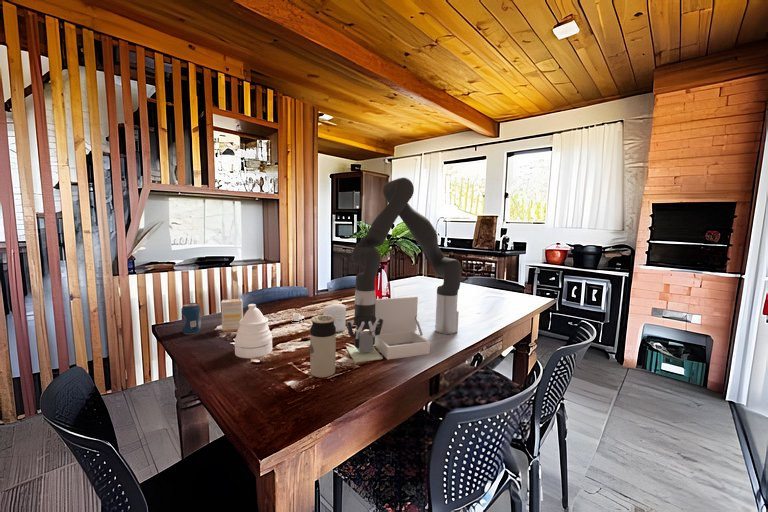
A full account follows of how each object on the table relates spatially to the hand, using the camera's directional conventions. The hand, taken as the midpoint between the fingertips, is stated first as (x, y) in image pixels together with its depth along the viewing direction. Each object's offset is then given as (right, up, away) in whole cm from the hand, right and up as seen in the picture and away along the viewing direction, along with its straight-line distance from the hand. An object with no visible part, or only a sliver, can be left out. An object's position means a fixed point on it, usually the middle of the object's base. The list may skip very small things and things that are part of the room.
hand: (364, 346), depth 121 cm
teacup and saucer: (-32, +1, +38) cm, 50 cm away
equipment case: (+14, -3, +6) cm, 15 cm away
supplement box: (-59, +1, +24) cm, 64 cm away
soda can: (-75, +1, +19) cm, 77 cm away
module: (0, -1, 0) cm, 1 cm away
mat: (0, -3, 0) cm, 3 cm away
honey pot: (-41, -2, +1) cm, 41 cm away
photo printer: (-15, 0, +25) cm, 29 cm away
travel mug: (-12, -4, -15) cm, 20 cm away
